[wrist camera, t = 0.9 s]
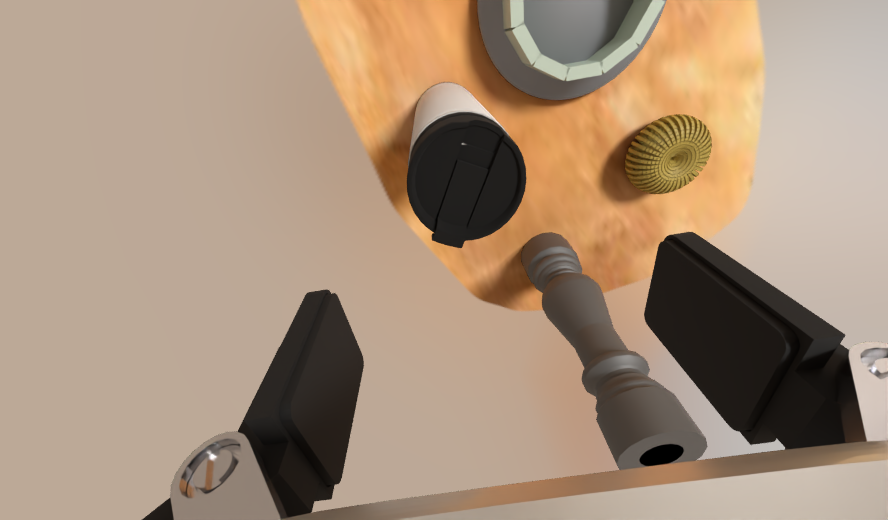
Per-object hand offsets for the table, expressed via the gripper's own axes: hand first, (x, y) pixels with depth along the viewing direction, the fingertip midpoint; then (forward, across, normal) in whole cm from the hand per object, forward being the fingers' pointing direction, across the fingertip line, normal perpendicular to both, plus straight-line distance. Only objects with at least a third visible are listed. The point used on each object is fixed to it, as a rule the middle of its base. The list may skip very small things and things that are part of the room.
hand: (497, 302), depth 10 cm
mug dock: (+28, -12, -9) cm, 32 cm away
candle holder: (+28, -10, +17) cm, 35 cm away
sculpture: (+29, -22, +6) cm, 37 cm away
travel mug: (+28, 0, -1) cm, 28 cm away
